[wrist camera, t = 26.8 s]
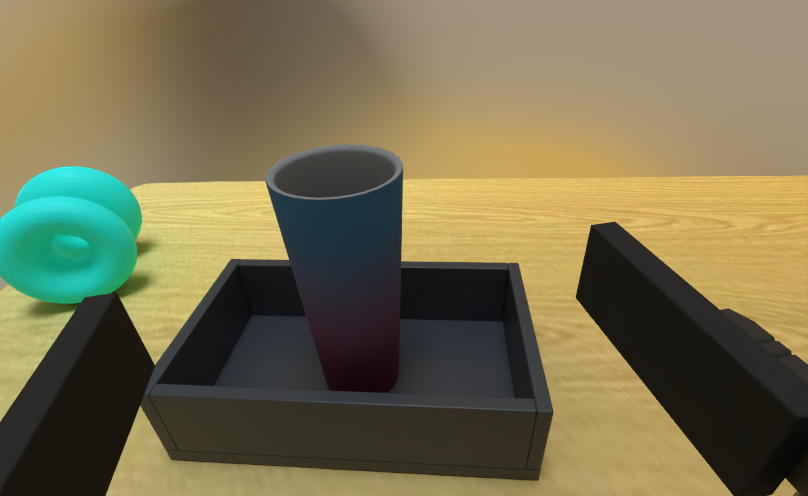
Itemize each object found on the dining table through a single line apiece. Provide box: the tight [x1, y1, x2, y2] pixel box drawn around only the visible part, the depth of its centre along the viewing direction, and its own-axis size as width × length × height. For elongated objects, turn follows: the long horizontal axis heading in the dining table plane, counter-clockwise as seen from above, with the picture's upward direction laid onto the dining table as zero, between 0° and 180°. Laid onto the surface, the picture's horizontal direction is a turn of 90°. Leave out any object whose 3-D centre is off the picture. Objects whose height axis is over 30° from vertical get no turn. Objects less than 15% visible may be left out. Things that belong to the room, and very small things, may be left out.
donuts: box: [0, 166, 142, 304], centre depth 40 cm, size 10×10×10 cm
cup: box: [266, 145, 403, 393], centre depth 26 cm, size 7×7×15 cm
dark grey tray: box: [140, 259, 553, 480], centre depth 29 cm, size 22×13×6 cm, turn 85°
